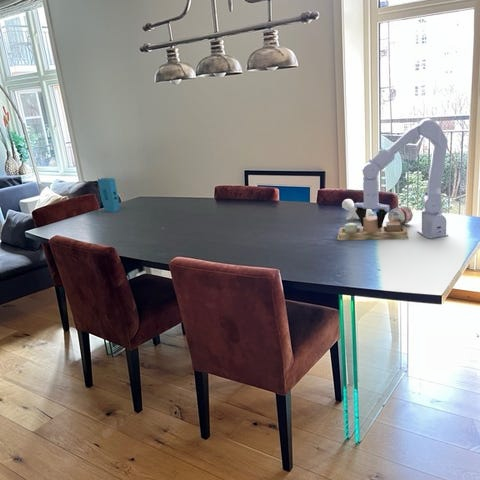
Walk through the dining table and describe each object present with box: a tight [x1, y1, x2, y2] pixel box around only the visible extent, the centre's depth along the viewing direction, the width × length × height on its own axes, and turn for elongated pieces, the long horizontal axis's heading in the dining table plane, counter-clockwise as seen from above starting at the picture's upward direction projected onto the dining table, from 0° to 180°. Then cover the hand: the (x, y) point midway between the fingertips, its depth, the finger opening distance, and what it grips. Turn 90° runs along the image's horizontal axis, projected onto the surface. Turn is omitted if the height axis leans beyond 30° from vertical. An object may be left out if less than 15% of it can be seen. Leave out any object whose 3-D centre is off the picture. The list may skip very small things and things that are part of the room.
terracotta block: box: [362, 215, 381, 233], centre depth 189 cm, size 5×5×5 cm
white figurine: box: [341, 198, 375, 221], centre depth 215 cm, size 9×8×15 cm
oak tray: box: [337, 225, 409, 241], centre depth 190 cm, size 27×10×2 cm, turn 76°
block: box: [97, 177, 120, 213], centre depth 290 cm, size 12×5×20 cm, turn 51°
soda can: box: [387, 206, 414, 226], centre depth 195 cm, size 7×7×12 cm
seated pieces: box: [344, 221, 401, 233], centre depth 189 cm, size 21×5×4 cm, turn 76°
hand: (371, 226), depth 189 cm, fingers closed on terracotta block, 7 cm apart
